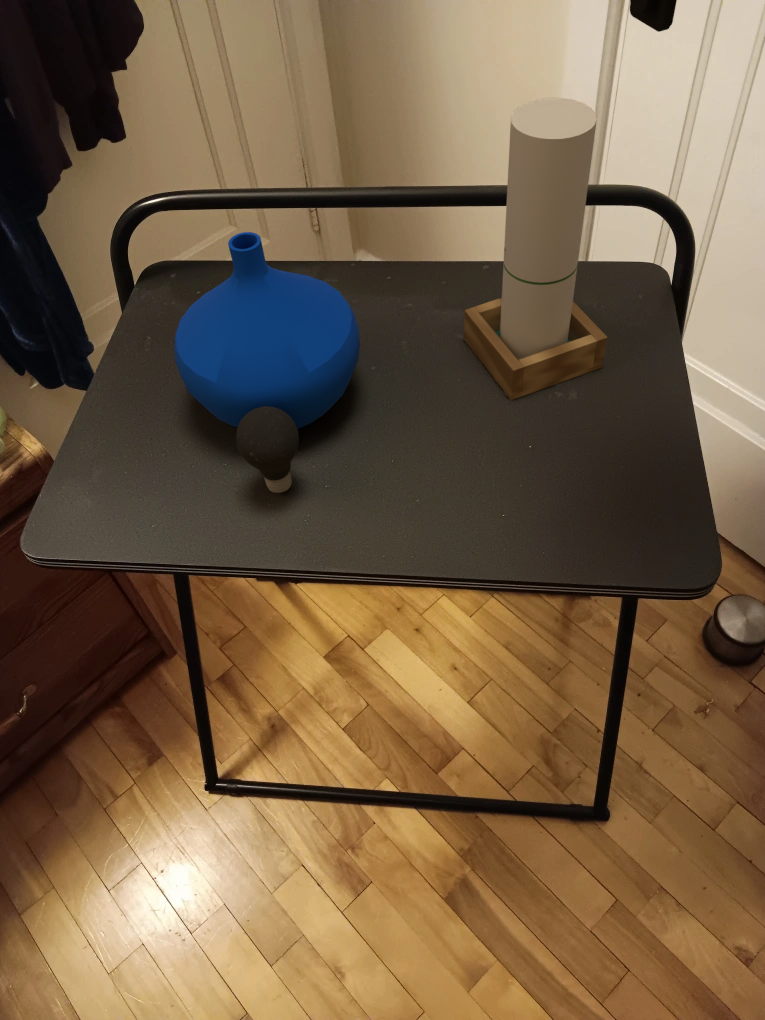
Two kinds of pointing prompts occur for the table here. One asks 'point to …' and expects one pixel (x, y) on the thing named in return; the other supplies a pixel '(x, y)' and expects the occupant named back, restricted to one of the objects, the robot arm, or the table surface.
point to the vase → (267, 341)
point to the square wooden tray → (539, 368)
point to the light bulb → (269, 444)
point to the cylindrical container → (544, 221)
